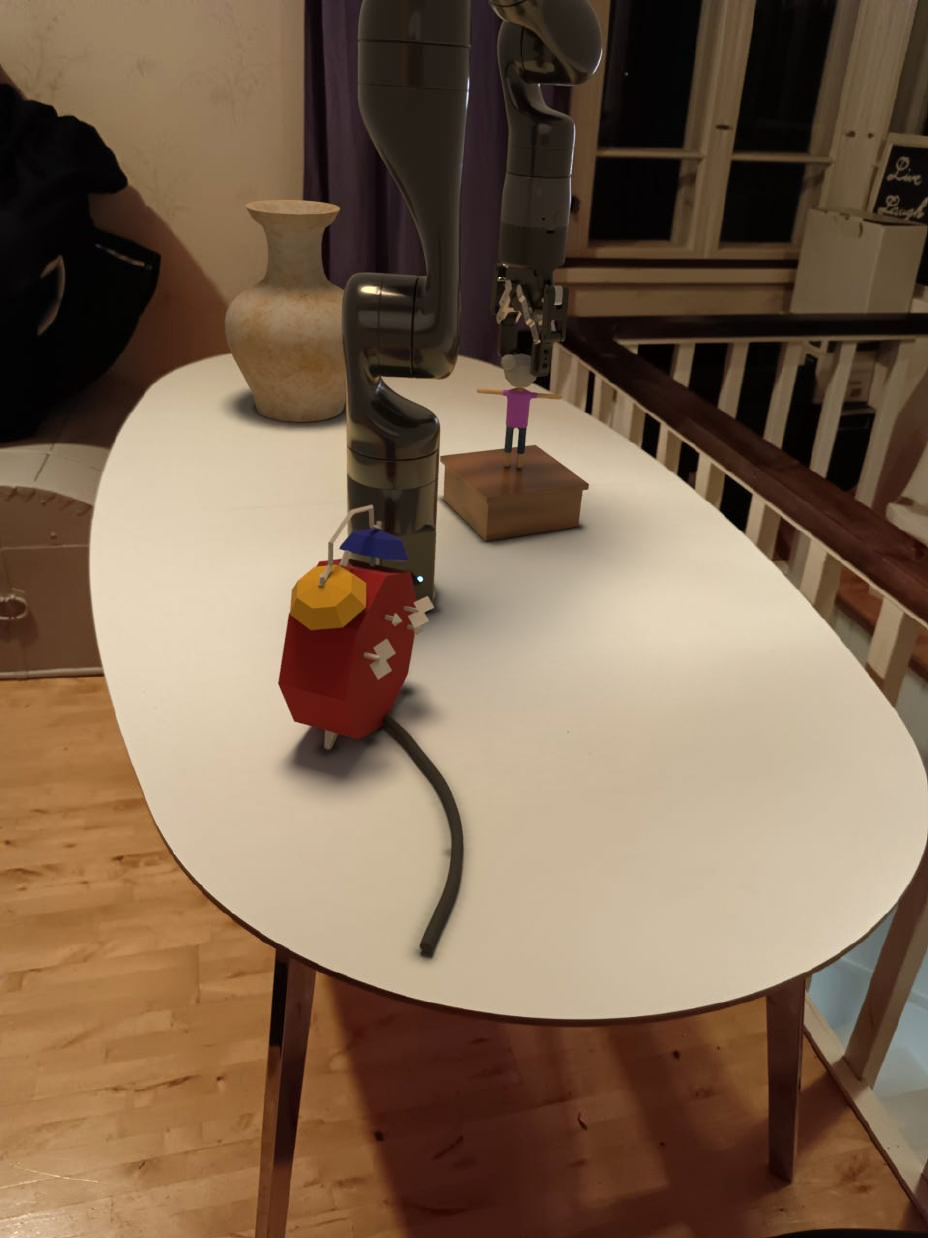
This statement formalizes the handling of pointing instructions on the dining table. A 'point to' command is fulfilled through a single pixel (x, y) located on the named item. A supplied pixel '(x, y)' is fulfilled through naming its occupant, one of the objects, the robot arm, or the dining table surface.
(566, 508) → the wooden stand
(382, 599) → the alarm clock
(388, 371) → the robot arm
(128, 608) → the dining table surface
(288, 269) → the vase
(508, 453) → the toy
